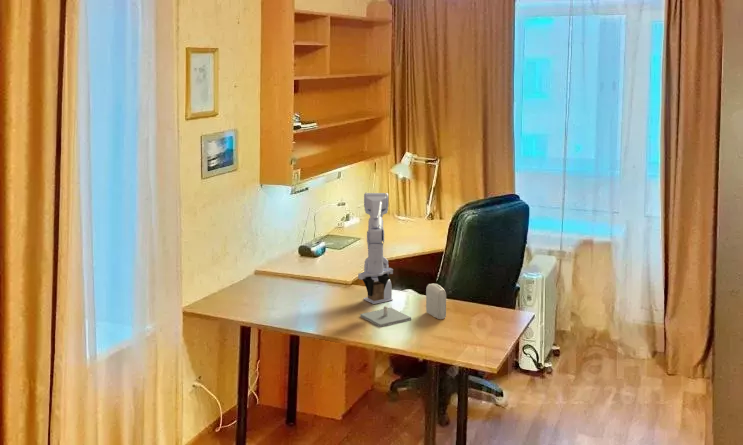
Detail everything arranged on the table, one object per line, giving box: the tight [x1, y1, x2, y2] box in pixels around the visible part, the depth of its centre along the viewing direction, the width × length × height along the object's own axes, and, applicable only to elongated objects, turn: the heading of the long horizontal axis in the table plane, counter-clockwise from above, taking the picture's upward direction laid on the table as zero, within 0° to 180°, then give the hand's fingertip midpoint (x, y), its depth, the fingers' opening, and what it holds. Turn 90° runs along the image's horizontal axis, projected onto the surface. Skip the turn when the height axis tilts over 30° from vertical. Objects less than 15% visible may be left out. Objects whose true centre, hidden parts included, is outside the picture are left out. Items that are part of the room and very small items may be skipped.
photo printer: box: [425, 283, 447, 320], centre depth 324 cm, size 10×4×12 cm, turn 26°
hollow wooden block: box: [367, 281, 384, 301], centre depth 321 cm, size 4×4×6 cm
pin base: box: [359, 305, 412, 328], centre depth 321 cm, size 14×14×5 cm
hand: (375, 294), depth 322 cm, fingers closed on hollow wooden block, 4 cm apart
